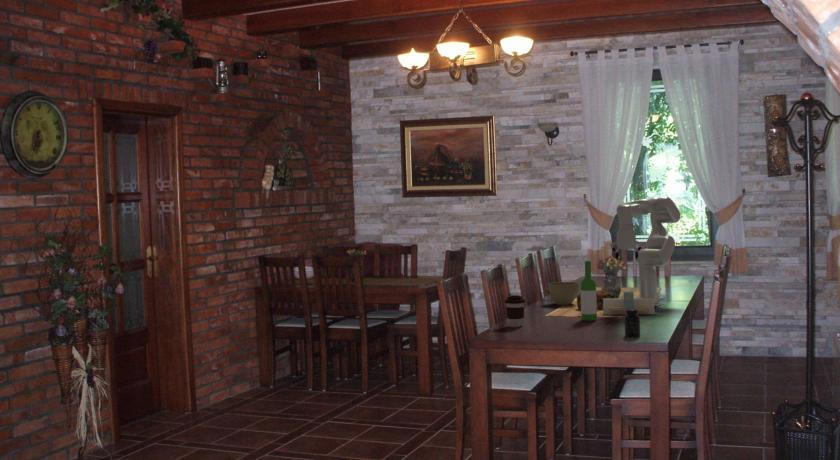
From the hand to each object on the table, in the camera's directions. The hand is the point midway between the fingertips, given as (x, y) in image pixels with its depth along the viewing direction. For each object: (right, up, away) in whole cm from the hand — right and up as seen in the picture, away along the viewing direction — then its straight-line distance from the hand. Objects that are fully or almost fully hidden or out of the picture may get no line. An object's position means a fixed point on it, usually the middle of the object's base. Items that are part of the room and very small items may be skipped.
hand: (627, 259), depth 453 cm
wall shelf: (-2, -28, -12) cm, 31 cm away
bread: (-14, -28, +13) cm, 34 cm away
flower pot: (-28, -27, +34) cm, 52 cm away
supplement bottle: (-16, -32, -76) cm, 84 cm away
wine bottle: (-26, -30, -28) cm, 48 cm away
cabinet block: (-3, -24, -15) cm, 29 cm away
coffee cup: (-64, -32, -39) cm, 82 cm away
